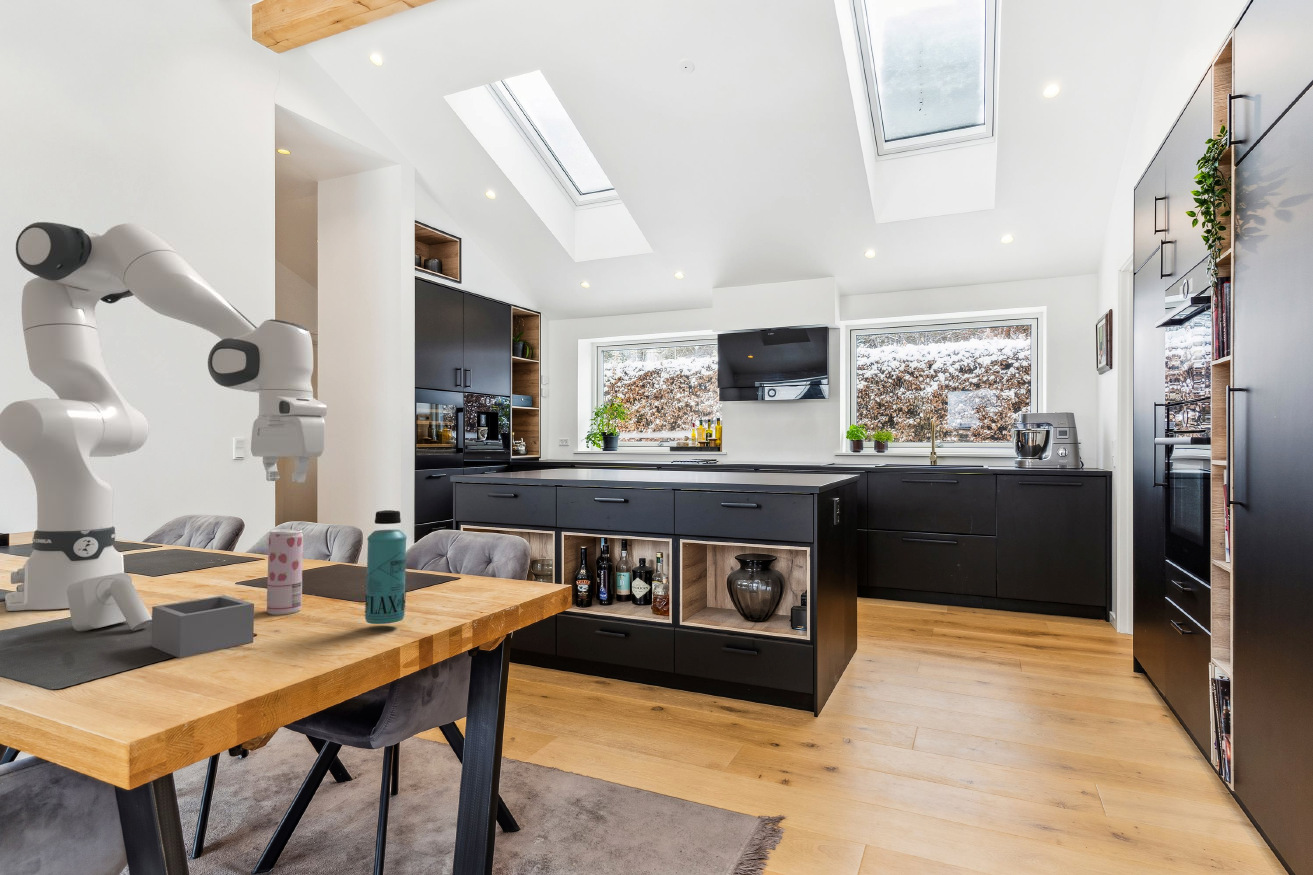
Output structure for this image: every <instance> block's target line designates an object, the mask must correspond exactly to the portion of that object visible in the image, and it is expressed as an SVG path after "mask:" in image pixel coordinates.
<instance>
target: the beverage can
mask: <svg viewBox="0 0 1313 875" xmlns="http://www.w3.org/2000/svg"><path fill="white" fill-rule="evenodd" d="M267 549H268V551H267V552H268V554H267V557H268V558H267V559H268V560H267V590H266V591H267V592H266V612H267V613H268V614H269V615H273V616H275V615H276V616H282V615H283V616H284V615H291V614H295V613H298V612H300V611H301V610H302V607H303V606H302V604H303V601H302V600H303V565H304V564H303V563H304V562H303V557H304V552H303V551H304V534H303V530H302V529H299V528H285V529H284V528H283V529H274V530H270V531H269V536H268V548H267Z"/></svg>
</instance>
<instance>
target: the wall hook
mask: <svg viewBox="0 0 1313 875" xmlns="http://www.w3.org/2000/svg"><path fill="white" fill-rule="evenodd" d="M67 596H68V602H69V608H68V609H69V613H70V620H71V625H72V627H73V629H74V630H75V631H77V632H85V631H90V630H94V629H99V628H103V627H107V626H110V625H111V626H112V625H116V624H120V623H123V622H127V623H128V626H129V627H130V629H131V631H138V630H142V629H144V628H146V627H147V626H149V625H150V624H151V625H152V614H151V613H150V612H149V610H148V608H147V606H146V605H145V603H144V601H143V600H142V598H141V597H140V595H139V592H138V591H137V590H136V588H135V586H134V584H133V581H132V577H131V575H130V574H129V573H127V572H124V573H118V574H112V575H106V576H101V577H95V578H90V579H86V580H82V581H77V582H74V583H71V584H70V585H69V586H68V588H67Z"/></svg>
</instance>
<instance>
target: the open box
mask: <svg viewBox="0 0 1313 875" xmlns="http://www.w3.org/2000/svg"><path fill="white" fill-rule="evenodd" d="M151 609H152V610H151V617H152V623H151V637H150V638H151V640H150V641H151V642H150V643H151V644H150V646H151V647H152V648H155V649H157V650H159V651H162V652H164V653H166V654H168V655H171V656H173V657H176V658H178V659H182V658H187V657H192V656H196V655H200V654H205V653H210V652H215V651H218V650H224V649H228V648H232V647H237V646H242V645H247V644H251V643H254V631H255V630H254V624H255V603H253V602H249V601H246V600H243V599H238V598H235V597H231V596H228V595H224V594H223V595H217V596H212V597H211V596H209V597H205V598H200V599H199V598H198V599H193V600H192V599H191V600H185V601H179V602H174V603H168V604H167V603H166V604H161V605H155V606H154V605H152V606H151Z"/></svg>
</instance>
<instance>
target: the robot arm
mask: <svg viewBox="0 0 1313 875" xmlns="http://www.w3.org/2000/svg"><path fill="white" fill-rule="evenodd" d="M17 236H18V237H17V239H16V242H15V254H16V258H17V260H18V262H19V264H20V265H21V266H22V267H23V269H24V270H26V271H28V272H30V273H31V274H33V275H34V276H37V277H35V278H32V279H30V280H28V281H27V282H26V283H25V285H24V286H23V289H22V296H21V325H22V331H23V337H24V342H25V351H26V354H27V361H28V365H29V366H28V367H29V370H30V371H31V373H32V374H33V376H34V377H35V378H36V379H38V380H39V381H41V382H42V383H44V384H45V385H46V386H47V387H49V388H50V389H51V390H52V391H53V392H54V393H55V394H56V395H57V397H58V398H48V397H47V398H46V397H41V398H33V399H25V400H18V401H14V402H11V403H9V404H8V405H7V406H6V407H5V408H3V409H2V411H1V412H0V443H1V444H2V445H3V447H4V448H5V449H7V450H9V451H10V452H11V453H13V454H14V455H16V456H17V457H18V458H19V459H20V460H21V461H22V462H23V463H24V465H25V467H26V468H27V470H28V471H29V473H30V475H31V477H32V480H33V482H34V485H35V486H34V487H35V491H36V502H37V504H36V506H37V507H36V508H37V511H36V512H37V519H36V523H37V524H36V525H37V527H36V529H35V531H33V532H34V533H33V536H32V540H31V541H32V544H31V549H32V553H31V554H30V556H29V557H28V558H27V559H26V561H25V563H24V564H23V566H22V568H18V569H17V571H12V572H10V584H11V585H16V584H17V586H16V591H11V592H8V593H5V595H4V596H5V598H4V602H5V608H6V609H5V610H6V611H9V612H11V611H13V612H15V611H27V610H29V611H31V610H39V611H40V610H59V609H70V608H69V602H68V596H67V588H68V586H69V585H70V584H71V583H74V582H77V581H82V580H86V579H90V578H95V577H101V576H106V575H112V574H118V573H125V568H124V567H125V565H124V554H122V553H121V552H120V551H117V550H116V548H115V546H114V545H115V544H116V537H117V536H116V535H117V534H116V527H114V526H113V520H114V519H113V518H114V517H113V516H114V514H113V513H114V490H113V487H112V486H111V484H110V483H109V482H107V481H106V480H104V479H102V478H100V477H99V476H98V475H97V474H96V472H95V471H94V469H93V467H92V463H91V460H90V458H91V457H93V458H95V457H98V458H99V457H100V458H101V457H102V458H104V457H105V458H107V457H108V458H109V457H115V456H116V457H117V456H122V455H124V454H125V455H126V454H129V453H134V452H136V451H138V450H139V449H141V448H143V446H144V444H145V443H147V442H146V441H147V439H148V436H149V433H150V432H149V423H148V420H147V418H146V417H145V415H144V414H143V413H142V412H141V411H139V409H136V408H135V407H134V406H132V405H131V404H130V402H128V401H127V400H126V398H124V396H123V395H122V393H121V392H120V390H118V388H117V386H116V384H115V383H114V380H112V378H111V376H110V373H109V371H108V368H107V365H106V363H105V358H104V355H103V349H102V345H101V344H102V343H101V339H100V334H99V328H98V323H97V319H96V312H95V310H96V309H95V308H96V305H97V304H98V302H99V301H101V302H104V303H107V304H115V303H117V302H118V301H120V300H121V299H124V298H125V299H126V298H130V297H133V296H134V297H135V298H136V299H137V300H138V301H140V302H141V303H142V304H144V305H145V306H146V307H148V308H149V309H151V310H152V311H154V312H156V313H158V314H159V315H162V316H165V317H168V318H171V319H174V320H178V321H181V322H184V323H186V324H190V325H194V326H196V327H198V328H201V329H204V330H206V331H207V332H210V333H211V334H214V335H215V336H216V337H218V338H219V339H220V340H219V341H217V342H216V344H214V345H213V347H212V348H211V350H210V352H209V354H208V358H207V368H208V373H209V374H210V376H211V378H212V380H213V381H214V382H215V383H216V384H217V385H220V386H221V387H225V388H228V389H231V390H238V391H244V392H248V393H258V415H257V418H256V419H255V420H254V421H253V423H252V428H251V430H252V431H251V439H250V440H251V441H250V453H251V454H252V456H253V457H257V458H258V457H259V458H260V457H262V464H263V468H264V470H265V473H266V474H265V475H266V476H265V479H266V481H267V482H279V480H280V479H281V478H280V476H281V475H280V473H281V472H280V471H279V470H278V466H277V464H278V460H279V457H280V458H283V457H284V458H285V457H287V458H294V464H295V467H294V472H291V481H292V482H293V483H305V482H306V480H307V472H308V468H309V466H310V463H311V458H315V457H316V458H319V457H321V456H322V455H323V453H324V451H325V447H326V446H325V445H326V421H325V419H324V418H323V417H326V416H327V413H328V407H327V405H326V404H325V403H323V402H321V401H319V400H317V399H316V398H315V397H314V388H313V386H312V385H313V384H312V376H313V372H314V348H313V339H312V336H311V332H310V330H308V328H307V327H306V326H303V325H301V324H299V323H298V324H297V323H294V322H290V321H285V320H280V319H273V318H272V319H266V320H264V321H263V322H262V323H261V324H260V325H259V326H256V325H255V324H254V323H253V322H251V321H250V320H249V319H248V318H247V317H246V316H245V315H244V314H242V312H240V311H239V310H238V309H237V308H236V307H235V306H233V305H232V304H231V303H230V302H229V301H228V300H226V299H225V297H224V296H222V295H221V294H220V293H219V292H218V291H217V290H215V288H213V287H212V285H210V284H209V283H208V282H207V281H206V280H205V279H204V278H203V277H202V276H201V275H200V274H199V273H198V272H197V271H196V270H195V269H194V268H193V267H192V266H191V264H189V263H188V262H187V261H186V260H185V259H184V257H183V256H181V254H180V253H178V252H177V250H176V249H174V248H173V247H172V246H171V245H170V244H168V242H166V241H165V240H164V239H163V238H161V237H160V236H158V235H157V234H155V233H154V232H153V231H151V230H150V229H148V228H146V227H145V226H143V225H140V224H136V223H131V222H130V223H129V222H128V223H121V224H117V225H114V226H113V227H111V228H109V229H108V230H106V232H105V233H103V234H102V235H100V234H98V233H94V232H88V231H85V230H83V229H82V228H79V227H74V226H71V225H66V224H64V223H58V222H57V223H56V222H47V221H41V222H39V221H37V222H34V223H33V222H32V223H31V224H29V225H27V226H26V227H24V228H23V229H22V231H21V232H20V233H19V234H18V235H17Z"/></svg>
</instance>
